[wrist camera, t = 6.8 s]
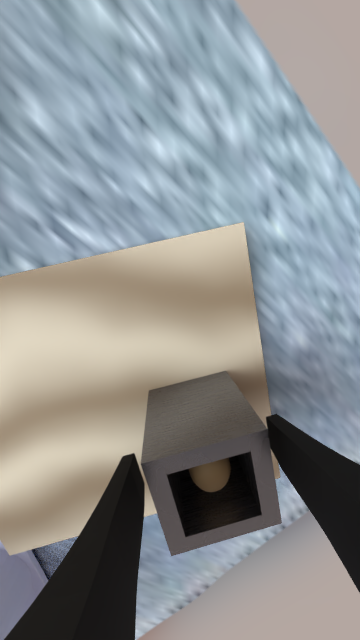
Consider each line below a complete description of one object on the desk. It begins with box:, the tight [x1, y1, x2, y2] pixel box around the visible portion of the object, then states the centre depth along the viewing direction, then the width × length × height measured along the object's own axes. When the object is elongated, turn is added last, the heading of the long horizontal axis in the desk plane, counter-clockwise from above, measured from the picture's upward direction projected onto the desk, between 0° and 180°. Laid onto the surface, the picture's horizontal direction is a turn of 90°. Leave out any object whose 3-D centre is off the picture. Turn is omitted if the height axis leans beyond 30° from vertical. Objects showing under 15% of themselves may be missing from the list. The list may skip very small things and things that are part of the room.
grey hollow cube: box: [141, 371, 282, 556], centre depth 10 cm, size 5×5×5 cm
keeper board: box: [0, 222, 280, 556], centre depth 11 cm, size 18×20×6 cm
